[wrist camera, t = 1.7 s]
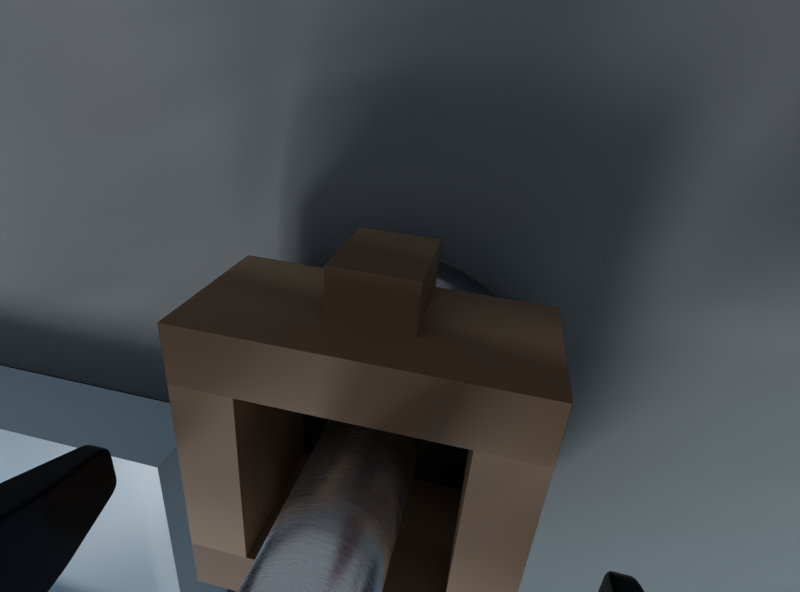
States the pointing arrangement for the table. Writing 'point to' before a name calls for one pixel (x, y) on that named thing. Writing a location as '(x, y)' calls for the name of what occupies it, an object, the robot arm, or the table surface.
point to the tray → (135, 472)
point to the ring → (367, 404)
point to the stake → (351, 499)
